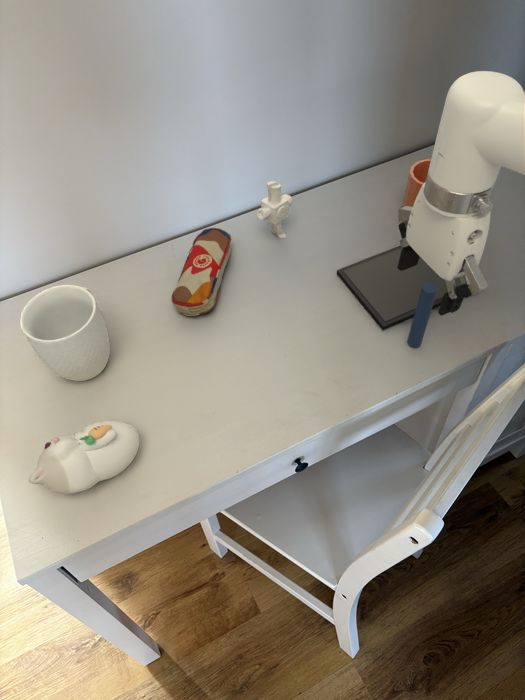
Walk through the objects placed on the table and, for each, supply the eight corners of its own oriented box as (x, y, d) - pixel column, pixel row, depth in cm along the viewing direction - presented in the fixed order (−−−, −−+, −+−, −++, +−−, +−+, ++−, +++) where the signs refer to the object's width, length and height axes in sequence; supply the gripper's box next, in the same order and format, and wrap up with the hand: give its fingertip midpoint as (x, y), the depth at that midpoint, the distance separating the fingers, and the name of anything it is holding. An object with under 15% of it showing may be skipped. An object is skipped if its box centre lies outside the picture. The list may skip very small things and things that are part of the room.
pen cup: (430, 193, 109) (439, 153, 102) (457, 217, 104) (469, 178, 97) (393, 206, 107) (400, 167, 100) (419, 232, 102) (429, 192, 95)
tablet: (428, 238, 101) (429, 233, 100) (480, 288, 93) (482, 284, 92) (336, 273, 97) (336, 269, 96) (382, 330, 88) (383, 326, 87)
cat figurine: (129, 403, 71) (13, 452, 66) (154, 458, 71) (39, 513, 65) (124, 410, 80) (21, 454, 74) (146, 460, 79) (44, 508, 74)
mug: (69, 320, 93) (40, 265, 83) (131, 321, 92) (110, 266, 82) (43, 392, 84) (7, 341, 74) (111, 394, 83) (84, 342, 73)
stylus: (415, 335, 87) (431, 279, 77) (423, 345, 86) (441, 289, 76) (404, 340, 87) (419, 285, 76) (412, 350, 86) (428, 294, 75)
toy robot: (254, 241, 103) (250, 188, 94) (282, 221, 106) (281, 169, 97) (268, 250, 101) (265, 198, 92) (297, 230, 104) (297, 178, 95)
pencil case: (152, 307, 94) (145, 288, 90) (205, 238, 104) (201, 217, 100) (207, 326, 91) (203, 306, 87) (256, 252, 101) (254, 232, 97)
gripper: (535, 220, 59) (488, 320, 73) (438, 142, 68) (413, 243, 82) (480, 242, 57) (442, 340, 71) (389, 158, 67) (371, 259, 80)
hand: (426, 288), depth 76 cm, fingers open, 9 cm apart
